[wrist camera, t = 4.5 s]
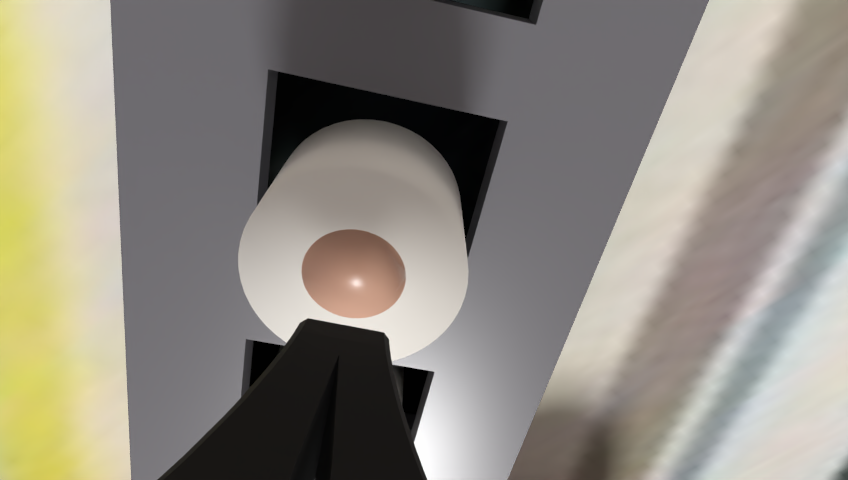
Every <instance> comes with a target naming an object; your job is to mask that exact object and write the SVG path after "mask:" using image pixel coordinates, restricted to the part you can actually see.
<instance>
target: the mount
mask: <svg viewBox="0 0 848 480" xmlns="http://www.w3.org/2000/svg"><path fill="white" fill-rule="evenodd" d="M708 1H709V0H534V2H533V5H532V9H531V12H530V16H529V19H526V18H522V17H518V16H513V15H509V14H505V13H501V12H496V11H492V10H488V9H484V8H479V7H475V6H471V5H467V4H462V3H458V2H454V1H450V0H110V2H111V25H112V48H113V71H114V94H115V117H116V140H117V163H118V185H119V208H120V231H121V254H122V277H123V300H124V323H125V346H126V369H127V392H128V415H129V438H130V461H131V480H157V479H159V478H160V477H161V476H162V475H163V474H164V473H165V472H166V471H167V470H169V469H170V468H171V467H172V466H173V465H174V464H175V463H176V462H177V461H178V460H179V459H181V458H182V457H183V456H184V455H185V454H186V453H187V452H188V451H189V450H190V449H191V448H192V447H193V446H194V445H195V444H196V443H197V442H198V441H199V440H200V439H201V438H202V437H203V436H204V435H205V434H206V433H207V432H208V431H209V430H210V429H211V428H212V427H213V426H214V425H215V424H216V423H217V422H218V421H219V420H220V419H221V418H222V417H223V416H224V415H225V414H226V413H227V412H228V411H229V410H230V409H231V408H232V407H233V406H234V405H235V404H236V403H237V401H238V400H239V399H240V398H241V397H242V396H243V395H244V394H245V392H246V391H247V390H248V389H249V388H250V387H249V384H250V373H251V362H252V352H253V341H254V340H255V341H260V342H266V343H272V344H278V345H283V346H285V344H286V342H285V341H283V340H282V339H281V338H279V337H278V336H277V335H275V334H274V333H273V332H272V331H271V330H270V329H269V328H268V327H267V326H266V325H265V324H264V323H263V322H262V320H261V319H260V318H259V317H258V316H257V314H256V313H255V311H254V310H253V308H252V307H251V305H250V303H249V301H248V299H247V297H246V295H245V293H244V290H243V287H242V284H241V280H240V275H239V268H238V252H239V245H240V240H241V237H242V234H243V230H244V228H245V226H246V224H247V222H248V220H249V218H250V216H251V214H252V213H253V211H254V210H255V208H256V207H257V205H258V204H259V202H260V201H261V199H262V198H263V196H264V195H265V193H266V191H267V187H268V176H269V166H270V155H271V144H272V133H273V122H274V111H275V100H276V89H277V78H278V72H283V73H287V74H292V75H297V76H301V77H306V78H310V79H315V80H320V81H324V82H329V83H333V84H338V85H343V86H347V87H352V88H356V89H361V90H365V91H370V92H375V93H379V94H384V95H388V96H393V97H398V98H402V99H407V100H411V101H416V102H421V103H425V104H430V105H434V106H439V107H444V108H448V109H453V110H457V111H462V112H466V113H471V114H476V115H480V116H485V117H489V118H494V119H499V120H500V121H499V125H498V128H497V132H496V135H495V139H494V142H493V146H492V149H491V153H490V156H489V160H488V163H487V167H486V171H485V174H484V178H483V181H482V185H481V188H480V192H479V195H478V199H477V202H476V206H475V209H474V213H473V216H472V220H471V223H470V227H469V230H468V234H467V237H466V241H465V242H466V251H467V259H468V270H469V273H468V286H467V290H466V295H465V298H464V301H463V303H462V306H461V308H460V310H459V312H458V314H457V316H456V317H455V319H454V320H453V322H452V323H451V324H450V326H449V327H448V328H447V329H446V330H445V331H444V332H443V333H442V334H441V335H440V336H439V337H438V338H437V339H436V340H435V341H433V342H432V343H431V344H429V345H428V346H426V347H425V348H423V349H421V350H419V351H418V352H416V353H413V354H411V355H409V356H407V357H404V358H401V359H398V360H394V361H392V364H393V365H398V366H404V367H410V368H416V369H421V370H427V371H428V374H427V378H426V381H425V385H424V388H423V392H422V395H421V399H420V402H419V406H418V409H417V413H416V414H412V413H406V412H404V413H405V416H406V420H407V423H408V426H409V429H410V432H411V435H412V438H413V441H414V444H415V448H416V450H417V453H418V456H419V459H420V461H421V464H422V467H423V470H424V472H425V475H426V477H427V480H508V477H509V475H510V472H511V470H512V468H513V465H514V463H515V461H516V458H517V456H518V453H519V451H520V449H521V446H522V444H523V442H524V439H525V437H526V434H527V432H528V430H529V427H530V425H531V423H532V420H533V418H534V415H535V413H536V411H537V408H538V406H539V403H540V401H541V399H542V396H543V394H544V392H545V389H546V387H547V384H548V382H549V380H550V377H551V375H552V373H553V370H554V368H555V365H556V363H557V361H558V358H559V356H560V354H561V351H562V349H563V346H564V344H565V342H566V339H567V337H568V334H569V332H570V330H571V327H572V325H573V323H574V320H575V318H576V315H577V313H578V311H579V308H580V306H581V304H582V301H583V299H584V296H585V294H586V292H587V289H588V287H589V285H590V282H591V280H592V277H593V275H594V273H595V270H596V268H597V265H598V263H599V261H600V258H601V256H602V254H603V251H604V249H605V246H606V244H607V242H608V239H609V237H610V235H611V232H612V230H613V227H614V225H615V223H616V220H617V218H618V216H619V213H620V211H621V208H622V206H623V204H624V201H625V199H626V196H627V194H628V192H629V189H630V187H631V185H632V182H633V180H634V177H635V175H636V173H637V170H638V168H639V166H640V163H641V161H642V158H643V156H644V154H645V151H646V149H647V147H648V144H649V142H650V139H651V137H652V135H653V132H654V130H655V127H656V125H657V123H658V120H659V118H660V116H661V113H662V111H663V108H664V106H665V104H666V101H667V99H668V97H669V94H670V92H671V89H672V87H673V85H674V82H675V80H676V78H677V75H678V73H679V70H680V68H681V66H682V63H683V61H684V58H685V56H686V54H687V51H688V49H689V47H690V44H691V42H692V39H693V37H694V35H695V32H696V30H697V28H698V25H699V23H700V20H701V18H702V16H703V13H704V11H705V9H706V6H707V4H708Z"/></svg>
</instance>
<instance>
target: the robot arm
mask: <svg viewBox="0 0 848 480" xmlns="http://www.w3.org/2000/svg"><path fill="white" fill-rule="evenodd" d="M157 480H427V477H426V475H425V472H424V470H423V467H422V464H421V461H420V459H419V456H418V453H417V450H416V448H415V444H414V441H413V438H412V435H411V432H410V429H409V426H408V423H407V420H406V416H405V413H404V410H403V406H402V403H401V399H400V396H399V392H398V388H397V384H396V379H395V375H394V370H393V365H392V360H391V353H390V345H389V339H388V337H387V336H386V335H385V333H384V332H379V331H374V330H369V329H363V328H358V327H352V326H347V325H342V324H336V323H331V322H326V321H320V320H315V319H310V318H307V319H306V320H304V321H302V322H300V323H299V325H298V327H297V328H296V330H295V332H294V333H293V335H292V336H291V337H290V339H289V340H288V342H287V343H286V344H285V346H284V347H283V349H282V350H281V351H280V352H279V354H278V355H277V356H276V358H275V359H274V360H273V361H272V362H271V364H270V365H269V366H268V367H267V369H266V370H265V371H264V372H263V373H262V375H261V376H260V377H259V378H258V379H257V380H256V381H255V382H254V383H253V385H252V386H251V387H250V388H249V389H248V390H247V391H246V392H245V394H244V395H243V396H242V397H241V398H240V399H239V400H238V401H237V403H236V404H235V405H234V406H233V407H232V408H231V409H230V410H229V411H228V412H227V413H226V414H225V415H224V416H223V417H222V418H221V419H220V420H219V421H218V422H217V423H216V424H215V425H214V426H213V427H212V428H211V429H210V430H209V431H208V432H207V433H206V434H205V435H204V436H203V437H202V438H201V439H200V440H199V441H198V442H197V443H196V444H195V445H194V446H193V447H192V448H191V449H190V450H189V451H188V452H187V453H186V454H185V455H184V456H183V457H182V458H181V459H179V460H178V461H177V462H176V463H175V464H174V465H173V466H172V467H171V468H170V469H169V470H167V471H166V472H165V473H164V474H163V475H162V476H161V477H160V478H159V479H157Z"/></svg>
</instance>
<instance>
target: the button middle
mask: <svg viewBox="0 0 848 480" xmlns="http://www.w3.org/2000/svg"><path fill="white" fill-rule="evenodd" d="M238 268H239V275H240V280H241V284H242V287H243V290H244V293H245V295H246V297H247V299H248V301H249V303H250V305H251V307H252V308H253V310H254V311H255V313H256V314H257V316H258V317H259V318H260V319H261V320H262V322H263V323H264V324H265V325H266V326H267V327H268V328H269V329H270V330H271V331H272V332H273V333H274V334H275V335H277V336H278V337H279V338H281V339H282V340H283V341H285V342H286V343H287V342H288V340H289V339H290V337H291V336H292V335H293V333H294V332H295V330H296V328H297V327H298V325H299V323H300V322H302V321H304V320H306V319H307V318H310V319H315V320H320V321H326V322H331V323H336V324H342V325H347V326H352V327H358V328H363V329H369V330H374V331H379V332H384V333H385V335H386V336H387V337H388V339H389V345H390V353H391V360H392V361H394V360H398V359H401V358H404V357H407V356H409V355H411V354H413V353H416V352H418V351H419V350H421V349H423V348H425V347H426V346H428V345H429V344H431V343H432V342H433V341H435V340H436V339H437V338H438V337H439V336H440V335H441V334H442V333H443V332H444V331H445V330H446V329H447V328H448V327H449V326H450V324H451V323H452V322H453V320H454V319H455V317H456V316H457V314H458V312H459V310H460V308H461V306H462V303H463V301H464V298H465V295H466V290H467V286H468V273H469V270H468V259H467V251H466V242H465V234H464V225H463V217H462V208H461V200H460V193H459V189H458V185H457V182H456V179H455V177H454V174H453V172H452V170H451V169H450V167H449V165H448V163H447V162H446V160H445V159H444V158H443V157H442V155H441V154H440V153H439V152H438V151H437V150H436V149H435V148H434V147H433V146H432V145H431V144H430V143H429V142H428V141H426V140H425V139H424V138H422V137H421V136H419V135H418V134H416V133H414V132H412V131H411V130H409V129H406V128H404V127H402V126H399V125H396V124H393V123H389V122H386V121H379V120H372V119H357V120H348V121H343V122H339V123H335V124H332V125H330V126H327V127H325V128H322V129H320V130H319V131H317V132H315V133H313V134H312V135H310V136H309V137H308V138H307V139H305V140H304V141H303V142H302V143H301V144H300V145H299V146H298V147H297V148H296V149H295V150H294V151H293V152H292V154H291V155H290V157H289V158H288V159H287V161H286V162H285V164H284V166H283V167H282V169H281V170H280V172H279V173H278V175H277V176H276V178H275V179H274V181H273V182H272V184H271V185H270V187H269V188H268V190H267V191H266V193H265V195H264V196H263V198H262V199H261V201H260V202H259V204H258V205H257V207H256V208H255V210H254V211H253V213H252V214H251V216H250V218H249V220H248V222H247V224H246V226H245V228H244V230H243V234H242V237H241V240H240V245H239V252H238Z"/></svg>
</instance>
